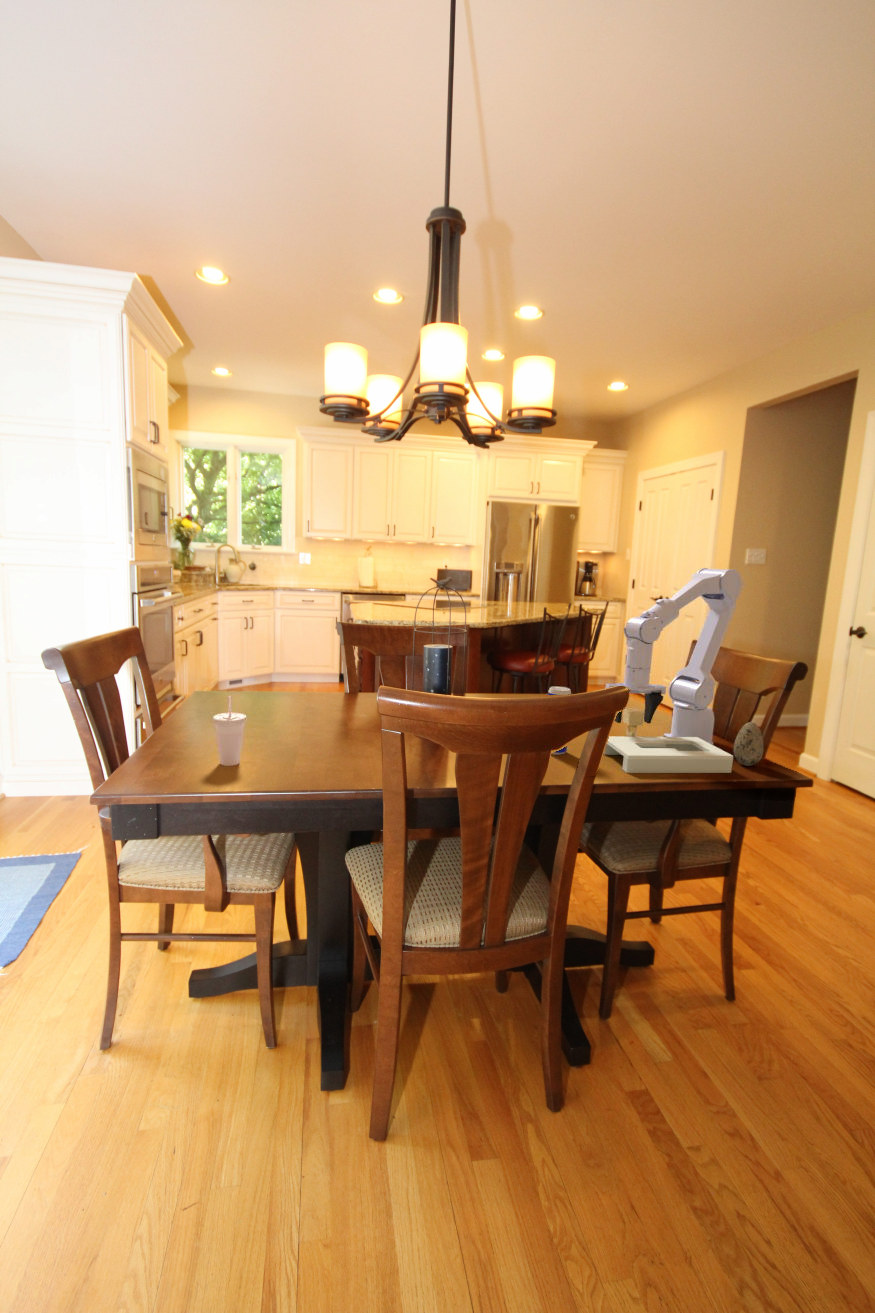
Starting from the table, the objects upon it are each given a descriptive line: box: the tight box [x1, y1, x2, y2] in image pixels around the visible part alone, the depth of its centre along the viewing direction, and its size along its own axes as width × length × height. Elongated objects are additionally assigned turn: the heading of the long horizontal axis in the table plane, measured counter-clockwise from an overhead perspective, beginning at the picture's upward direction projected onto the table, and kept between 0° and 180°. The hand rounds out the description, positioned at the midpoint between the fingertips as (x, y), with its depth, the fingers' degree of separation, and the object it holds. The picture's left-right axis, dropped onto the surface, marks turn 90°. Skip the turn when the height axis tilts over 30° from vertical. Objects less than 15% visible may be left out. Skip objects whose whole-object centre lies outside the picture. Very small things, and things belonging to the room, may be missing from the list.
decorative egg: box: [733, 721, 764, 767], centre depth 137 cm, size 6×6×10 cm
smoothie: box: [212, 695, 247, 767], centre depth 122 cm, size 6×6×14 cm
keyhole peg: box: [622, 707, 645, 737], centre depth 148 cm, size 6×6×9 cm
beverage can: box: [547, 686, 572, 756], centre depth 139 cm, size 5×5×15 cm
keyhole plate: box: [604, 735, 734, 774], centre depth 136 cm, size 24×14×4 cm, turn 98°
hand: (632, 722), depth 148 cm, fingers open, 7 cm apart
